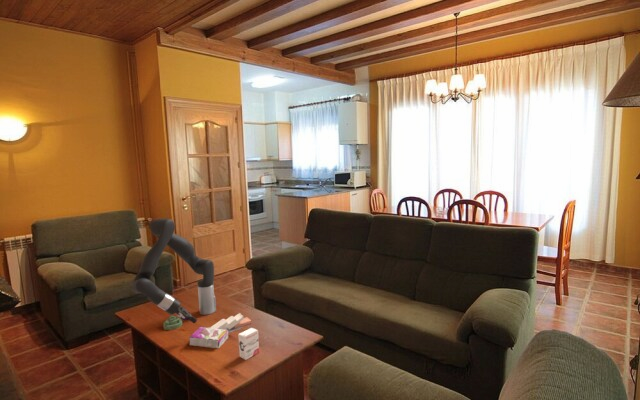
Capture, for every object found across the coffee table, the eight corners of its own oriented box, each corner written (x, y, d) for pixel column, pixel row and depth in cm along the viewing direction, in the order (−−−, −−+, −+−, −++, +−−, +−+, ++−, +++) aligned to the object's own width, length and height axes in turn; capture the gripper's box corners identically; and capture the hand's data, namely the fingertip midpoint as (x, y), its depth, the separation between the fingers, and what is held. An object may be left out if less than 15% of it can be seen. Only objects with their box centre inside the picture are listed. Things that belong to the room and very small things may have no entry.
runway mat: (235, 322, 211) (235, 321, 211) (242, 328, 203) (242, 328, 203) (199, 333, 199) (199, 332, 199) (205, 340, 191) (205, 339, 191)
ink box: (253, 349, 181) (251, 326, 180) (259, 352, 178) (258, 329, 176) (239, 356, 175) (237, 333, 173) (245, 360, 171) (244, 336, 170)
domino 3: (225, 326, 205) (240, 315, 210) (229, 329, 201) (244, 318, 205) (224, 323, 205) (239, 312, 209) (228, 327, 200) (243, 316, 205)
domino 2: (217, 328, 203) (233, 317, 207) (221, 332, 198) (236, 321, 203) (216, 326, 202) (231, 315, 207) (220, 330, 198) (235, 318, 202)
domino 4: (231, 324, 207) (247, 319, 213) (234, 328, 203) (251, 323, 208) (230, 322, 207) (247, 317, 213) (234, 325, 202) (251, 320, 208)
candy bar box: (200, 325, 195) (228, 329, 192) (200, 334, 196) (228, 337, 193) (188, 336, 185) (218, 340, 181) (189, 345, 185) (219, 349, 182)
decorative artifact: (159, 328, 207) (171, 332, 202) (158, 316, 206) (169, 320, 201) (175, 321, 215) (186, 324, 210) (174, 309, 214) (185, 313, 209)
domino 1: (208, 331, 200) (224, 320, 205) (212, 335, 195) (228, 324, 200) (207, 329, 199) (223, 318, 204) (210, 333, 195) (227, 321, 200)
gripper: (174, 302, 180) (202, 320, 186) (173, 293, 191) (199, 310, 198) (164, 314, 178) (192, 332, 185) (162, 305, 190) (189, 322, 197)
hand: (195, 321), depth 191 cm, fingers closed
